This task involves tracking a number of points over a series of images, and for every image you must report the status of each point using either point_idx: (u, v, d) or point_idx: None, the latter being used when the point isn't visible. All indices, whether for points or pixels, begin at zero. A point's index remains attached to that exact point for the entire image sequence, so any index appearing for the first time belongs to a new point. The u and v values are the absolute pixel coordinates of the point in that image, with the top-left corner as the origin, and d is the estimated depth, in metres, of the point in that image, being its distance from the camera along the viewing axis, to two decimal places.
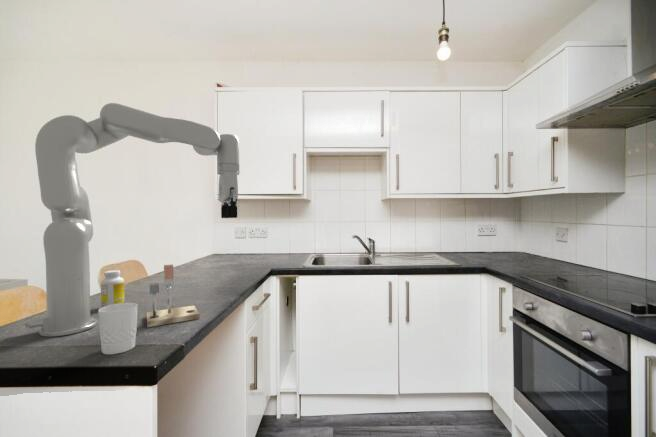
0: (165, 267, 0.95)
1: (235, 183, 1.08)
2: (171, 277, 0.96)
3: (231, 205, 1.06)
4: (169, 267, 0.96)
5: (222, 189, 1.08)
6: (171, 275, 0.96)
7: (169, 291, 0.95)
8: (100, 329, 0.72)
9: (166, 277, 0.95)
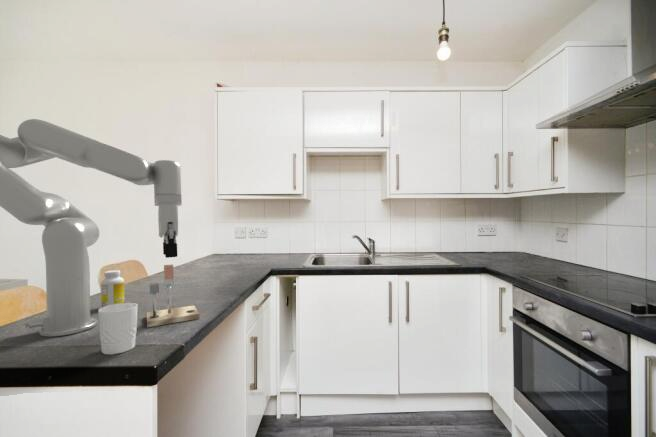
0: (165, 267, 0.95)
1: (174, 217, 0.94)
2: (171, 277, 0.96)
3: (169, 243, 0.92)
4: (169, 267, 0.96)
5: (159, 224, 0.93)
6: (171, 275, 0.96)
7: (169, 291, 0.95)
8: (100, 329, 0.72)
9: (166, 277, 0.95)
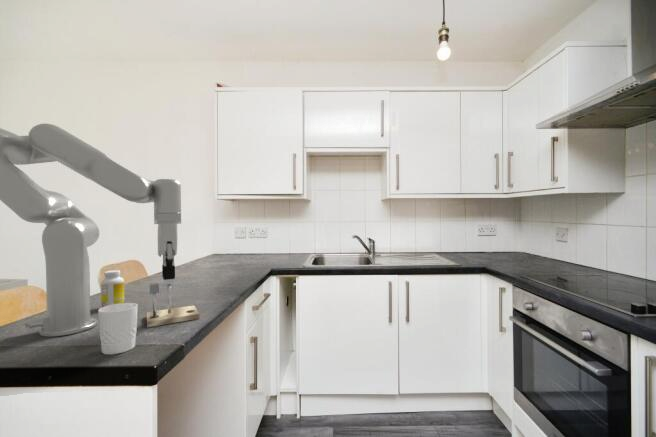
0: None
1: (173, 236, 0.93)
2: None
3: (167, 266, 0.94)
4: None
5: (158, 243, 0.93)
6: None
7: (169, 291, 0.95)
8: (100, 329, 0.72)
9: None
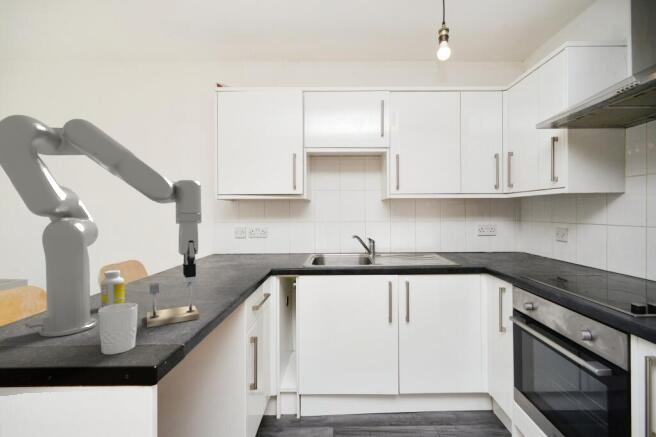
0: None
1: (195, 235, 0.97)
2: None
3: (188, 264, 0.97)
4: None
5: (180, 242, 0.96)
6: None
7: (190, 289, 0.99)
8: (100, 329, 0.72)
9: None
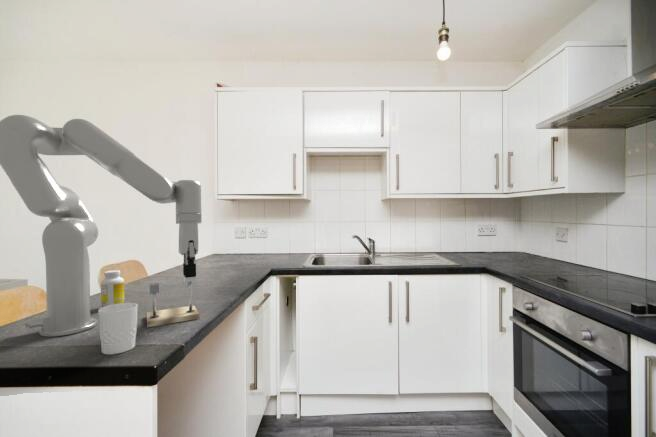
0: None
1: (195, 235, 0.97)
2: None
3: (188, 264, 0.97)
4: None
5: (180, 242, 0.96)
6: None
7: (190, 288, 0.99)
8: (100, 329, 0.72)
9: None
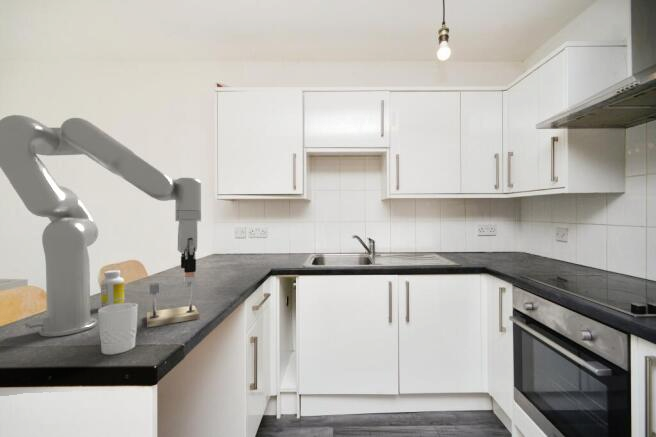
0: None
1: (194, 233, 0.96)
2: (192, 275, 0.99)
3: (188, 259, 0.95)
4: None
5: (179, 240, 0.96)
6: (192, 273, 0.99)
7: (190, 288, 0.99)
8: (100, 329, 0.72)
9: (187, 275, 0.98)
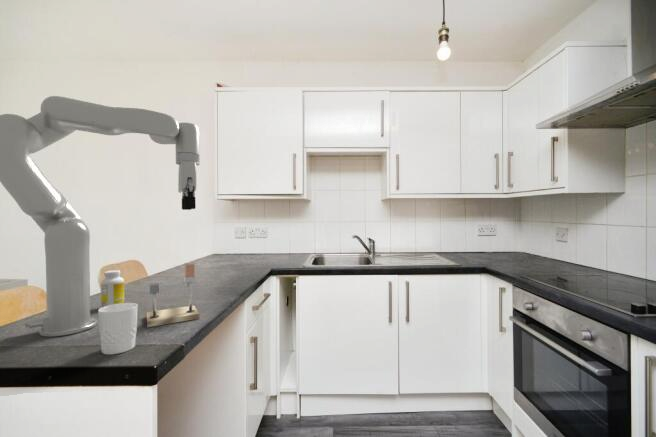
0: (186, 265, 0.98)
1: (193, 173, 1.05)
2: (192, 275, 0.99)
3: (188, 195, 1.03)
4: (190, 265, 0.99)
5: (180, 179, 1.04)
6: (192, 273, 0.99)
7: (190, 288, 0.99)
8: (100, 329, 0.72)
9: (187, 275, 0.98)
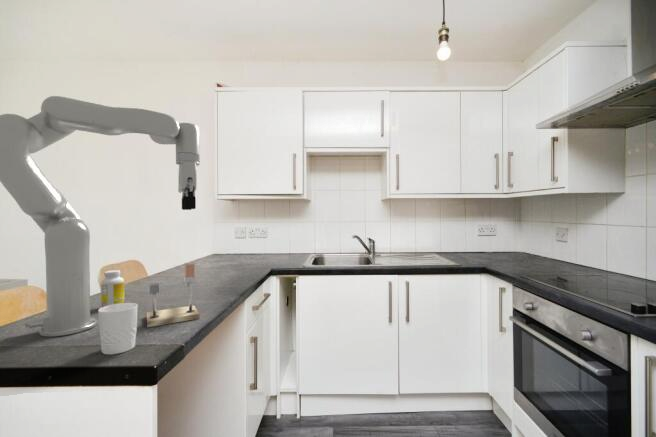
0: (186, 265, 0.98)
1: (193, 173, 1.05)
2: (192, 275, 0.99)
3: (188, 196, 1.03)
4: (190, 265, 0.99)
5: (180, 179, 1.05)
6: (192, 273, 0.99)
7: (190, 288, 0.99)
8: (100, 329, 0.72)
9: (187, 275, 0.98)
